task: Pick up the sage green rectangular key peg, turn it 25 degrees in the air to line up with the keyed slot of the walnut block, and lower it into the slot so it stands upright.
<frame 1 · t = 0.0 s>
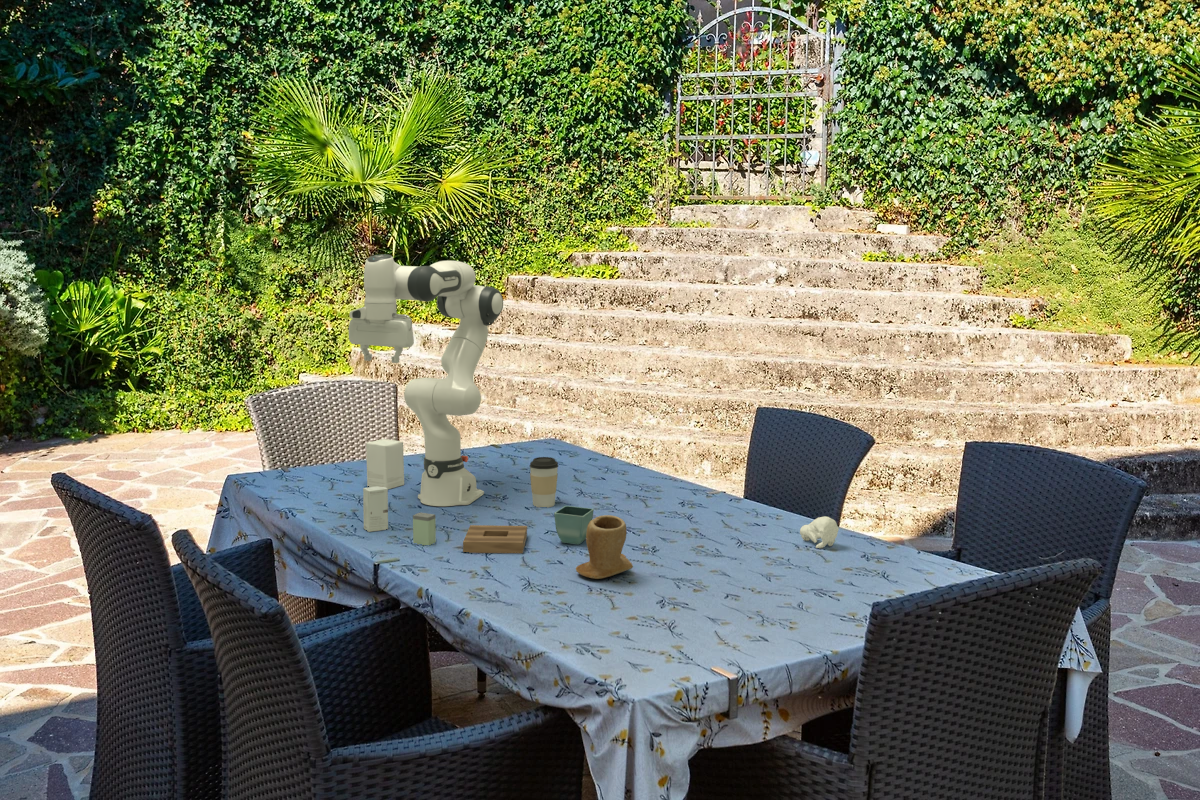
hand: (381, 361, 309), 48 cm above the table, tool pointing down, fingers open, 8 cm apart
keyed peg: (424, 543, 300), on the table
cream animal figurine: (816, 545, 303), on the table
supplement box: (385, 486, 363), on the table
flower pot: (573, 542, 303), on the table
stone cup: (607, 574, 276), on the table
walnut slot block: (495, 544, 300), on the table
skincare box: (376, 529, 313), on the table
coffee cup: (543, 505, 342), on the table
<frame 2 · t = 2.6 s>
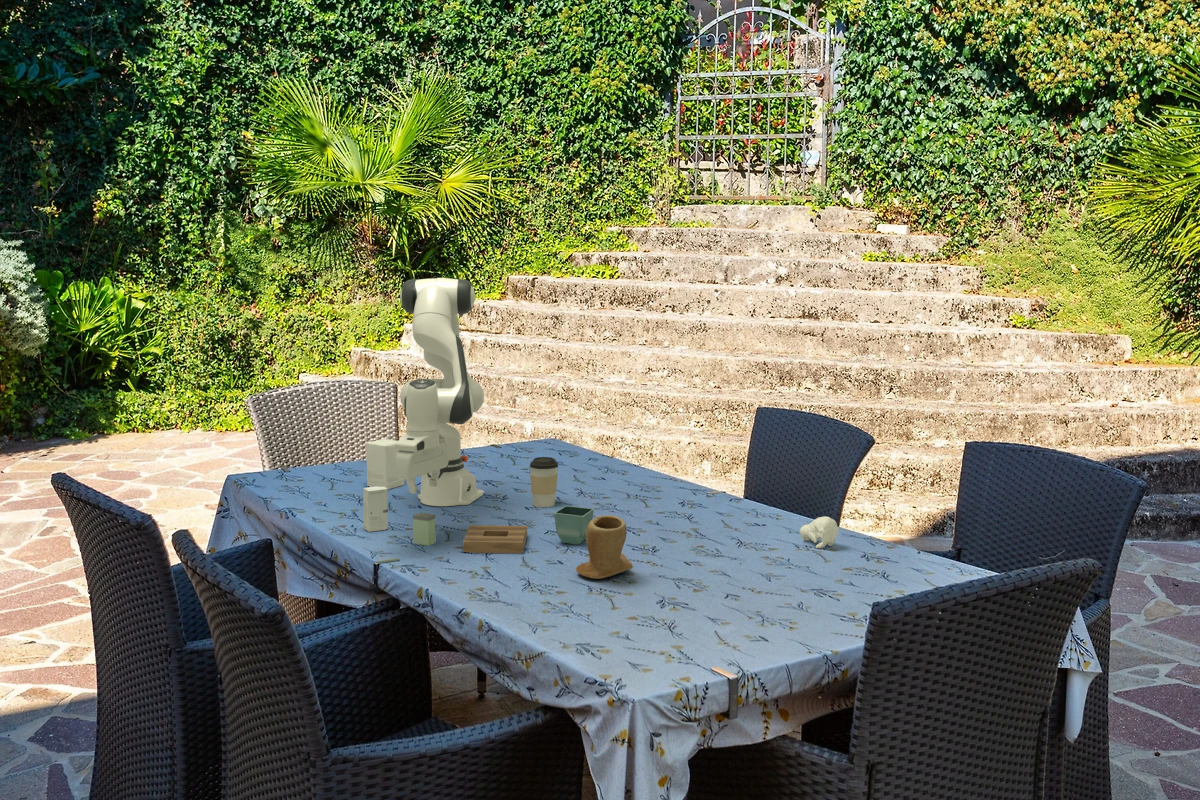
hand: (423, 489, 297), 15 cm above the table, tool pointing down, fingers open, 8 cm apart
nothing on the table moved.
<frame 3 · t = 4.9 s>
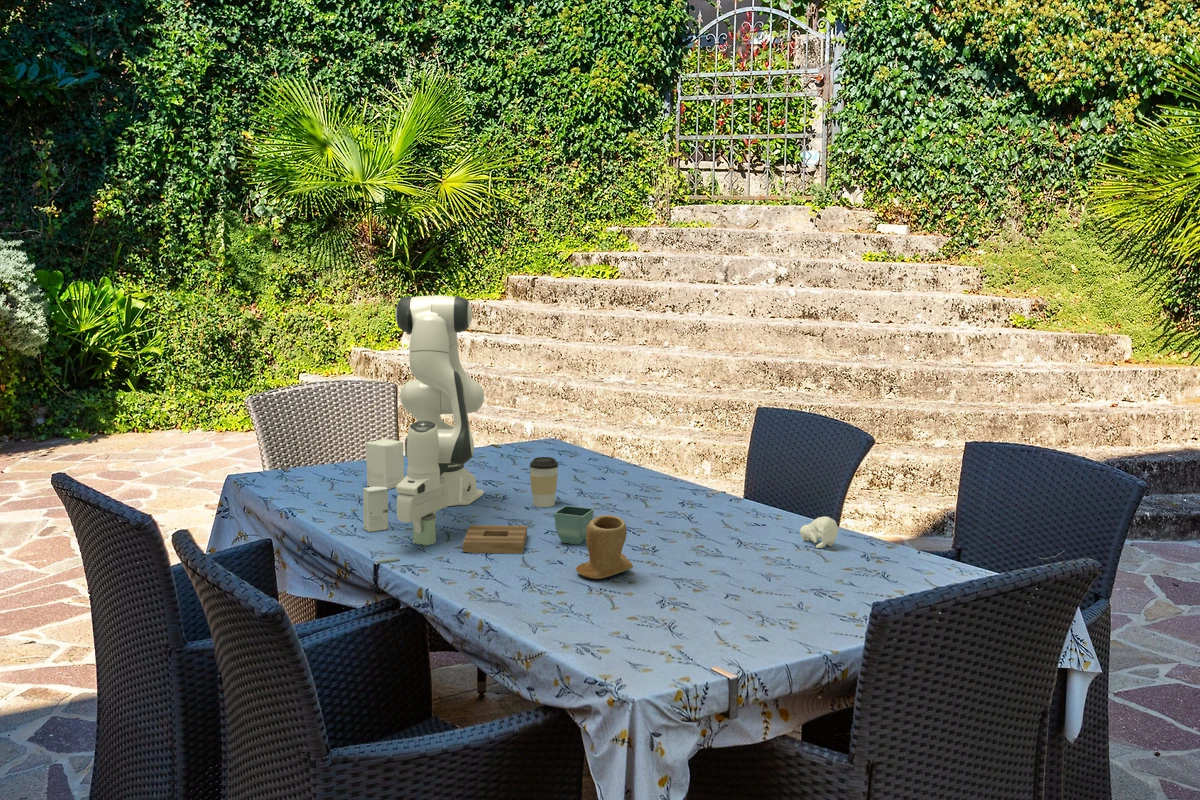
hand: (424, 530, 300), 4 cm above the table, tool pointing down, fingers closed on keyed peg, 3 cm apart
keyed peg: (424, 543, 300), on the table, touching gripper
everything else where it was.
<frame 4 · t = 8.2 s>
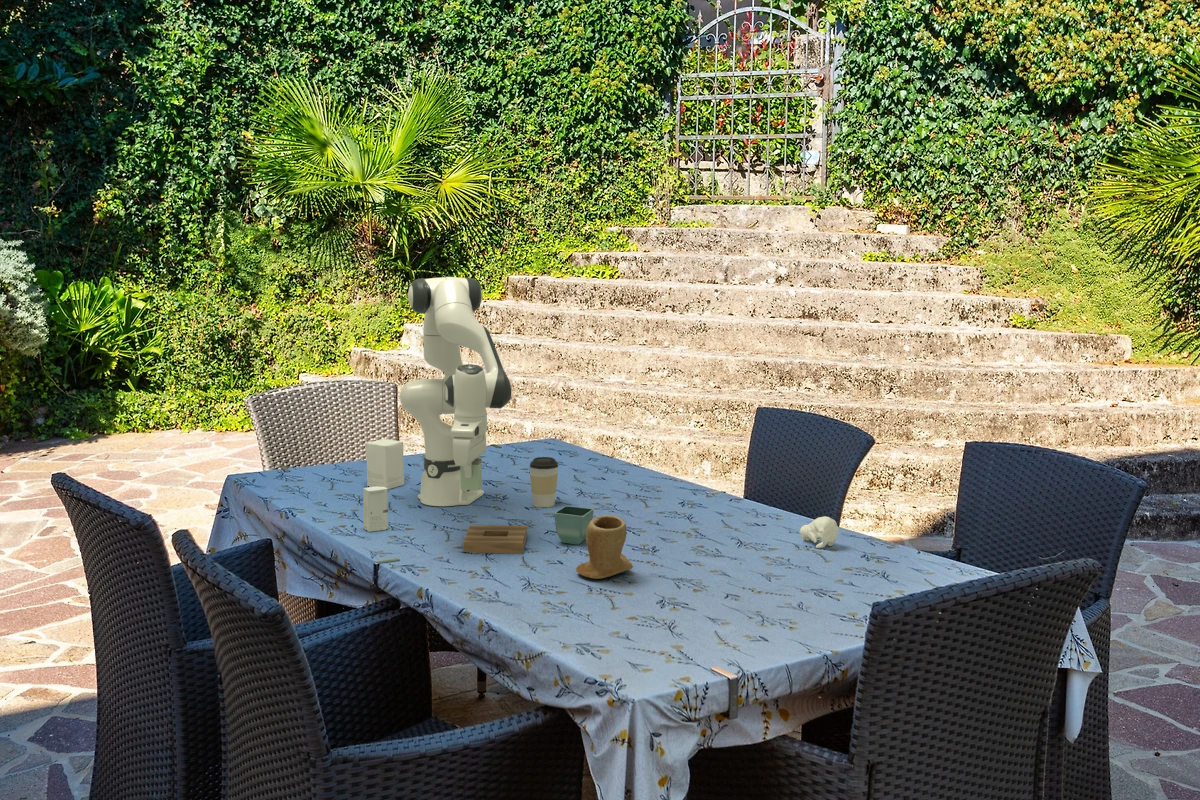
hand: (471, 475, 296), 19 cm above the table, tool pointing down, fingers closed on keyed peg, 3 cm apart
keyed peg: (471, 488, 297), point 16 cm above the table, touching gripper
everything else where it was.
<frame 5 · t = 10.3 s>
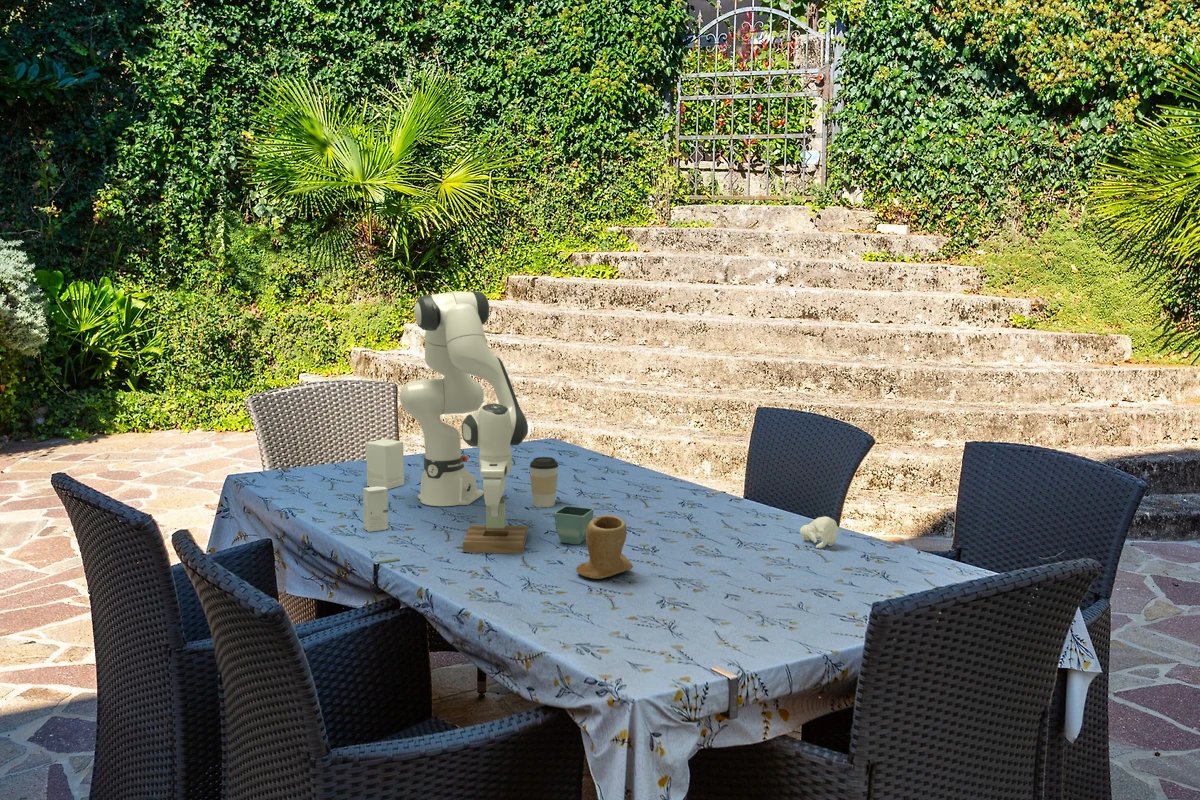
hand: (495, 513, 298), 9 cm above the table, tool pointing down, fingers closed on keyed peg, 3 cm apart
keyed peg: (495, 526, 299), point 5 cm above the table, touching gripper
everything else where it was.
when the fingers open (5 cm above the table, at t = 11.8 s): keyed peg stays where it is, resting in walnut slot block.
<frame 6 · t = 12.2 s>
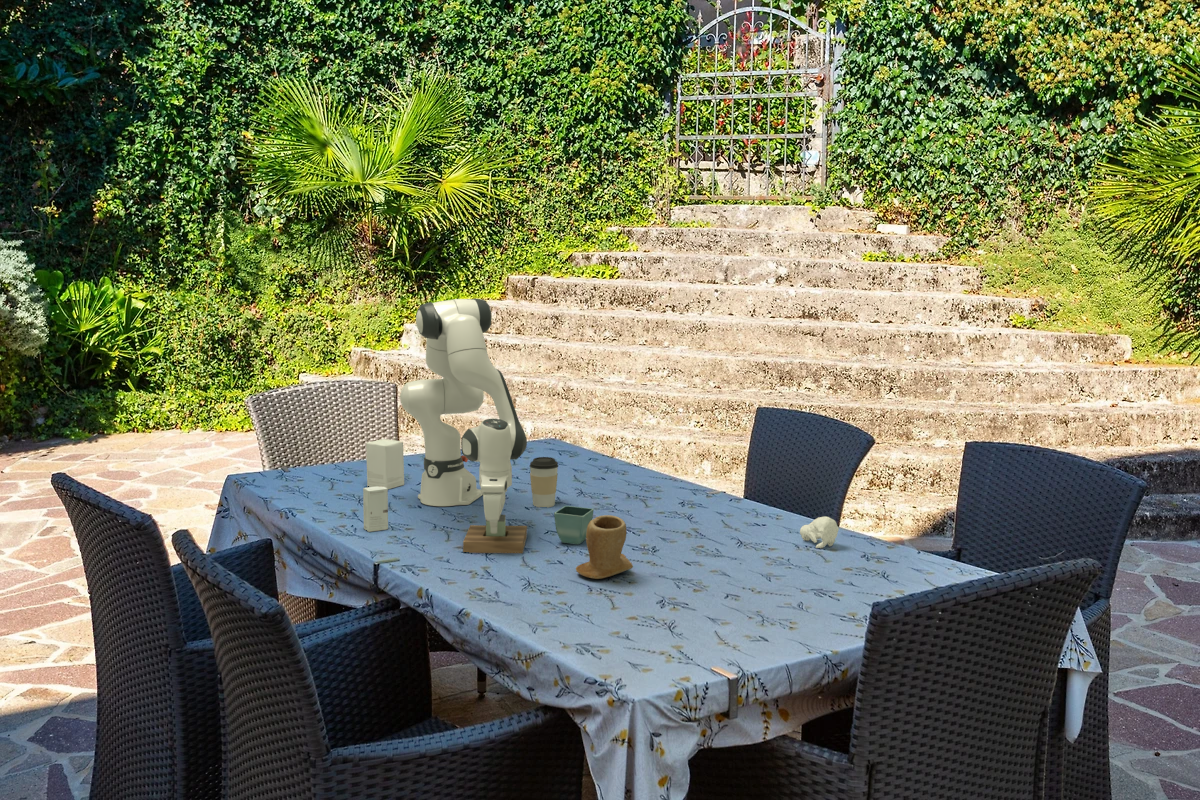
hand: (495, 528, 299), 5 cm above the table, tool pointing down, fingers open, 8 cm apart
keyed peg: (495, 544, 300), resting in walnut slot block
everything else where it was.
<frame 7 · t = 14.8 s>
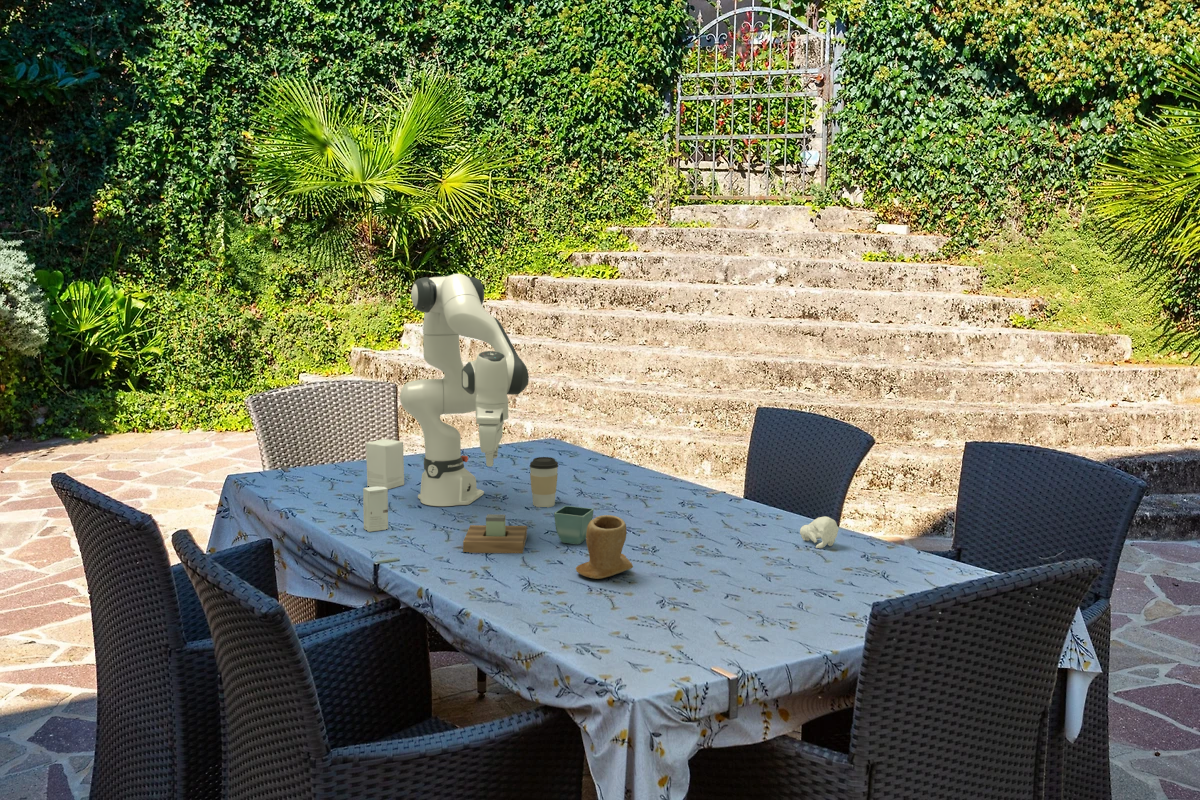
hand: (492, 461, 297), 23 cm above the table, tool pointing down, fingers open, 8 cm apart
nothing on the table moved.
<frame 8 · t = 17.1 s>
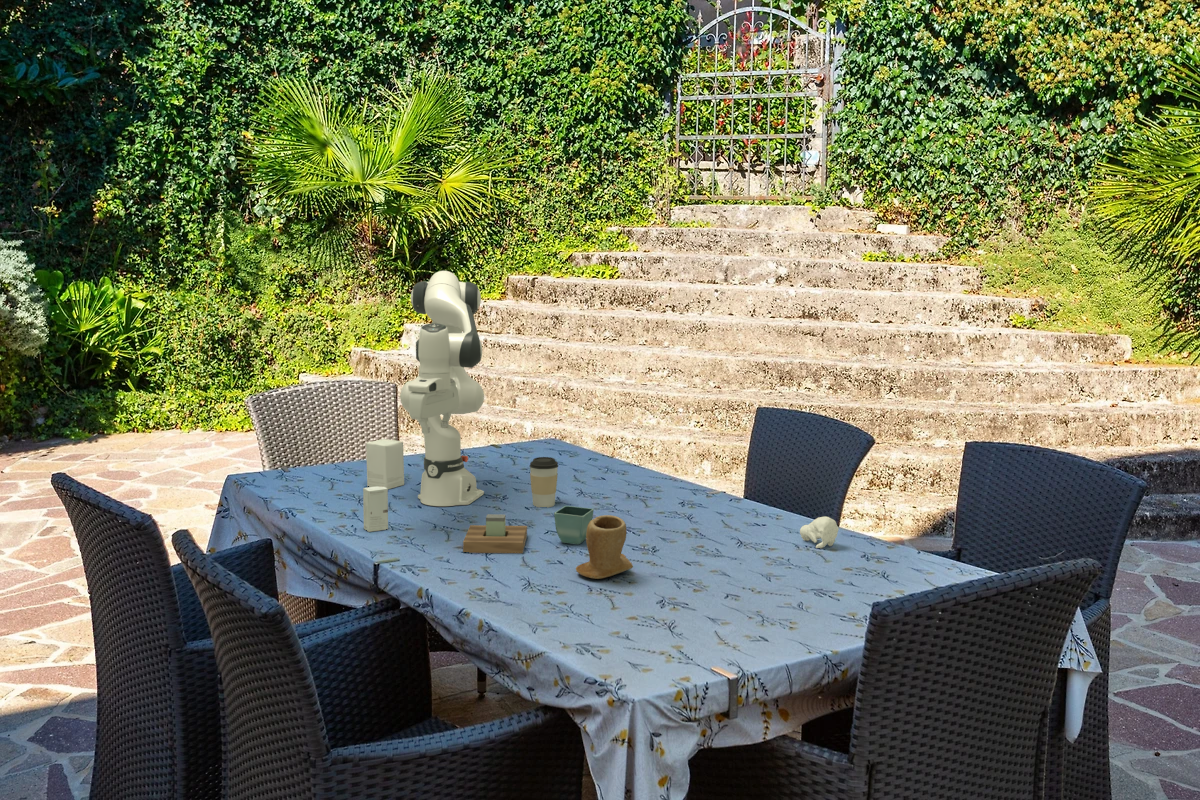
hand: (435, 430, 308), 29 cm above the table, tool pointing down, fingers open, 8 cm apart
nothing on the table moved.
at the end: keyed peg 0.1 cm off-centre on the walnut slot block, point 0.0 cm above the walnut slot block's base; keyed peg tilted 0°; the gripper is holding nothing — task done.
